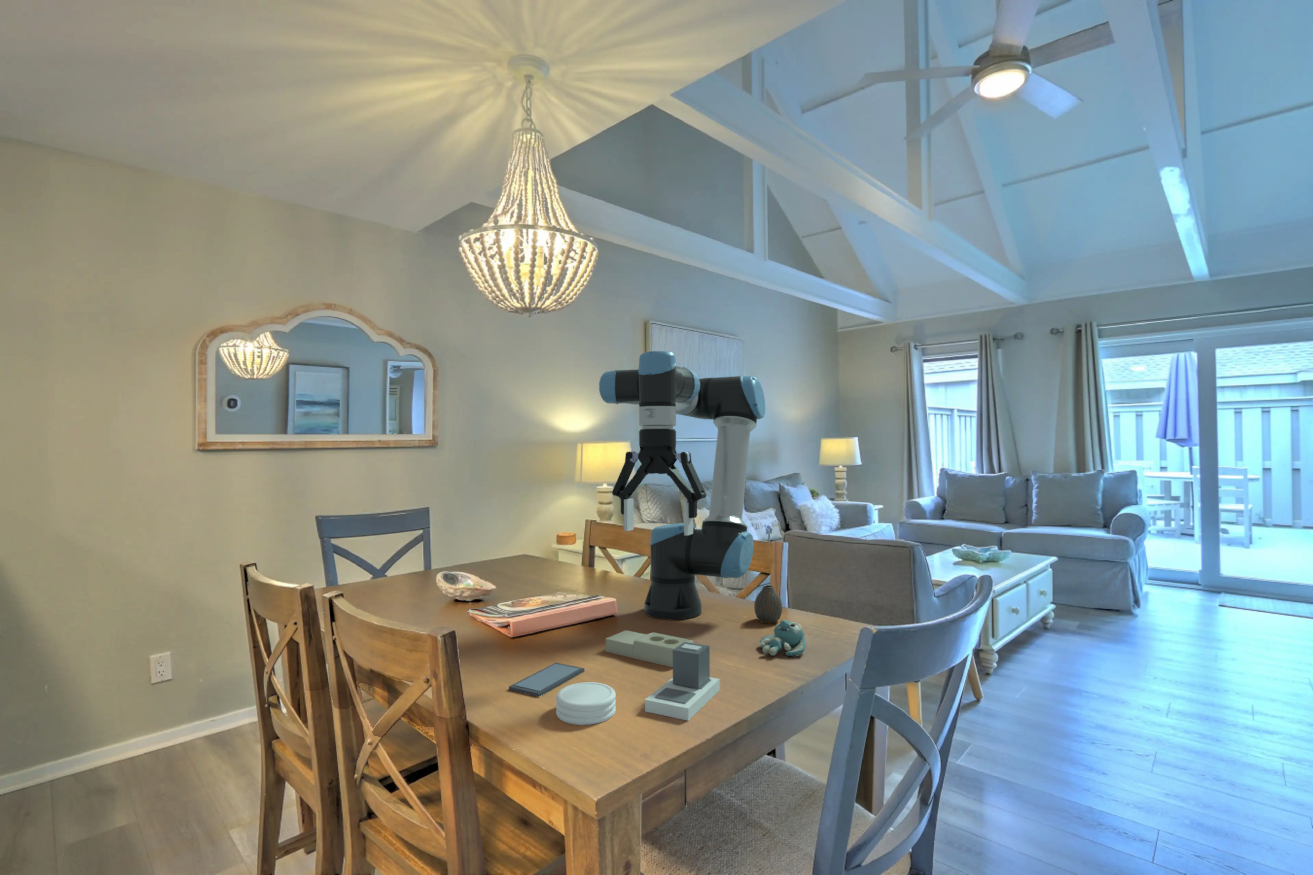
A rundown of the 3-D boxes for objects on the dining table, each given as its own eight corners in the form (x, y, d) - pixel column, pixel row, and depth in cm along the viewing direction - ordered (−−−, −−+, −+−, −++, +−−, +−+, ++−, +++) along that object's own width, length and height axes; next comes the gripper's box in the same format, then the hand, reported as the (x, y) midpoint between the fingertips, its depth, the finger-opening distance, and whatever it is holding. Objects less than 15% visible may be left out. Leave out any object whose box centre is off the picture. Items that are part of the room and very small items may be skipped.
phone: (555, 668, 128) (555, 661, 128) (584, 674, 124) (584, 667, 124) (508, 692, 115) (508, 685, 115) (539, 700, 112) (539, 692, 112)
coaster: (626, 716, 104) (626, 695, 104) (571, 732, 99) (571, 709, 99) (598, 696, 113) (598, 676, 113) (546, 709, 107) (546, 689, 107)
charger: (684, 674, 117) (684, 640, 117) (709, 678, 114) (709, 644, 114) (672, 683, 112) (672, 648, 112) (698, 688, 110) (698, 652, 110)
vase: (754, 616, 162) (753, 582, 162) (781, 617, 161) (781, 583, 161) (754, 624, 155) (754, 588, 155) (783, 625, 154) (782, 589, 154)
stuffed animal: (744, 628, 135) (773, 606, 143) (747, 659, 136) (777, 636, 144) (788, 638, 127) (816, 615, 136) (791, 671, 128) (820, 646, 137)
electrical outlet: (625, 625, 142) (694, 639, 132) (625, 644, 142) (694, 659, 132) (605, 634, 136) (676, 649, 126) (605, 653, 136) (676, 669, 126)
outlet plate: (680, 682, 118) (680, 670, 118) (720, 689, 115) (719, 677, 115) (644, 711, 106) (644, 698, 106) (688, 720, 102) (688, 707, 102)
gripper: (595, 428, 131) (596, 531, 131) (707, 426, 119) (708, 539, 119) (614, 429, 137) (614, 526, 137) (721, 427, 126) (722, 533, 126)
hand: (658, 532), depth 128 cm, fingers open, 13 cm apart
